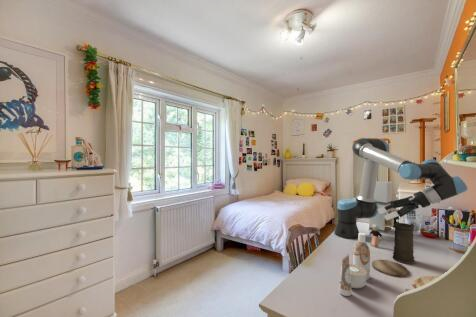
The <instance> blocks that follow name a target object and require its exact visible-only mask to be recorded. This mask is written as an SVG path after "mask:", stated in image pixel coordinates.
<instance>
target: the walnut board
mask: <svg viewBox="0 0 476 317" xmlns="http://www.w3.org/2000/svg"><path fill="white" fill-rule="evenodd" d="M371 267H372V268H373V269H374V270H375V271H378V272H379V273H381V274H384V275H388V276H391V277H398V278H399V277H400V278H401V276H402V277H406V276H407V275H408V272H409V271H408V268H407V267H406V266H404V265H403V264H402V263H401V264H400V262H397V261H396V262H395V261H393V260H388V259H373V260H372V262H371Z"/></svg>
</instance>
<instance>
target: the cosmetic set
mask: <svg viewBox="0 0 476 317" xmlns="http://www.w3.org/2000/svg"><path fill="white" fill-rule="evenodd" d="M352 250H353V252H352V263H350V253H348V254H346V255H345V256H344V257H343V258H342V260H341V261H342V262H341V263H342V264H341V266H340V276H339V283H338V292H339V294H340V295H342V296H343V297H351V296H352V294H353V293H352V292H353V291H352V288H353V289H362V288H363V287H365V286H366V284H367V280H369V279H370V276H371V275H370V274H371V273H370V272H371V271H370V270H371V250H370V248H369V245H368V244H367V242H366V233H363V232H359V233H358V238H357V242H355V244H354V246H353V248H352Z"/></svg>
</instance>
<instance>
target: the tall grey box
mask: <svg viewBox="0 0 476 317" xmlns="http://www.w3.org/2000/svg"><path fill="white" fill-rule="evenodd" d="M374 199H375V200H376V203H377V206H378V209H379V208H382V207H384V206H387V205H389V204H390V202H391V201H393V181H392V180H391V181H378V179H377V180H376V186H375V192H374ZM387 214H389V211H388V212H386V213H383V214H381V215H380V213H379V211H378V213H377V215H376V216H375V217H372V218H368V220H369V222H368V225H369V226H368V230H369V231H370V232H371V231H372V230H373V225H377V226H378V227H379V229H378V230H377V231H378V232H380V233H381V234H387V235H388V233H390V232H391V231H392V227H390V226H387V225H386V223H385V222H386V219H385V217H384V216H385V215H387Z"/></svg>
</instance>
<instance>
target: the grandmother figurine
mask: <svg viewBox="0 0 476 317" xmlns="http://www.w3.org/2000/svg"><path fill="white" fill-rule="evenodd" d="M378 229H379V227H378V226H377V225H373V230H372V231H371V230H370V231H369V234H368V236H369V237H371V242H370V244H369V246H370V247H374V248H377V249H378V248H379V247H380V246H379V242H380V241H379V240H380V239H381V240H383V239H384V237H383V233H380V232H378V231H377V230H378ZM379 238H380V239H379Z"/></svg>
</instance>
